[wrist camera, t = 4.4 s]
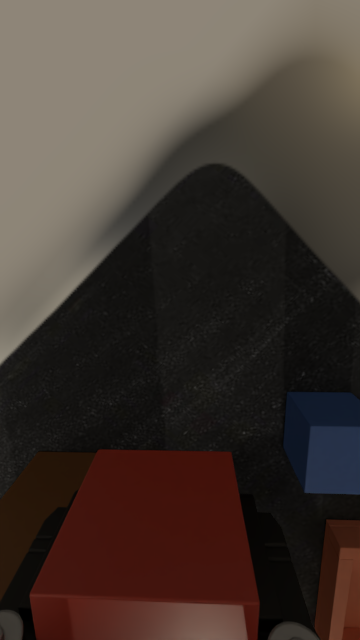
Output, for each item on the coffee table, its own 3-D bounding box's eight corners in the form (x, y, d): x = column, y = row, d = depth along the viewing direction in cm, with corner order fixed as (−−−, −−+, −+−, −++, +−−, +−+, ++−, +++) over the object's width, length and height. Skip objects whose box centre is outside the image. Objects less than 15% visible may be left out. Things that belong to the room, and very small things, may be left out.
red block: (97, 448, 10) (27, 594, 6) (231, 451, 10) (260, 604, 6) (106, 554, 11) (51, 746, 7) (228, 559, 11) (250, 759, 7)
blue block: (286, 391, 22) (310, 425, 17) (351, 392, 22) (391, 427, 17) (282, 447, 23) (304, 493, 18) (344, 448, 23) (380, 495, 18)
